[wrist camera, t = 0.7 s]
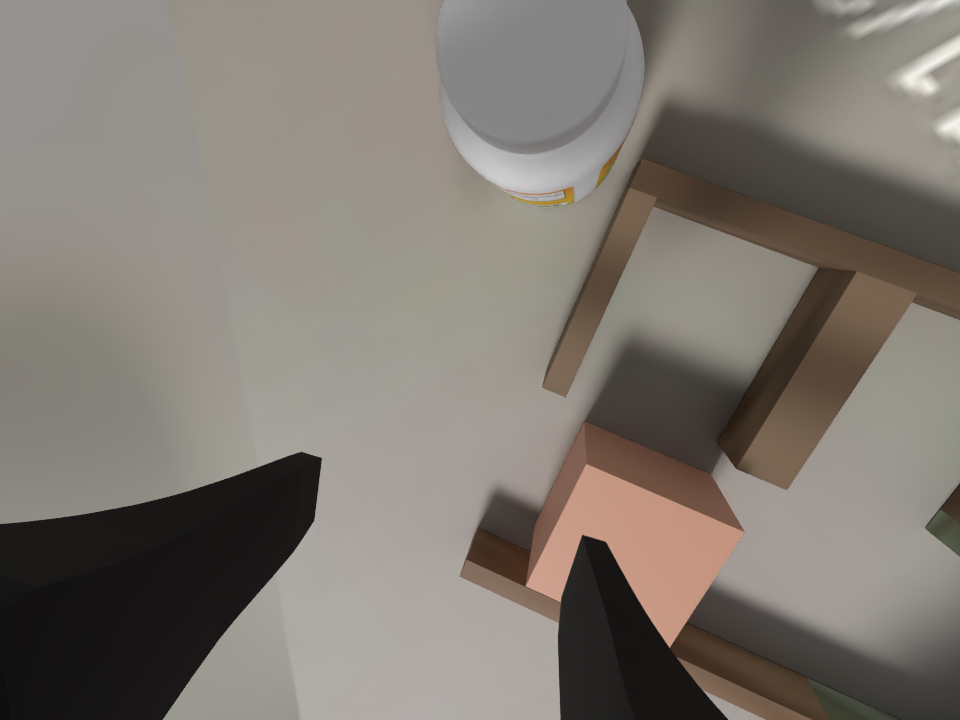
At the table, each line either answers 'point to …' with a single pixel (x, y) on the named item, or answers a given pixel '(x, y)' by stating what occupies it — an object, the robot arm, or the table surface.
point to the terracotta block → (635, 525)
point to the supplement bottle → (539, 91)
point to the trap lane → (754, 397)
